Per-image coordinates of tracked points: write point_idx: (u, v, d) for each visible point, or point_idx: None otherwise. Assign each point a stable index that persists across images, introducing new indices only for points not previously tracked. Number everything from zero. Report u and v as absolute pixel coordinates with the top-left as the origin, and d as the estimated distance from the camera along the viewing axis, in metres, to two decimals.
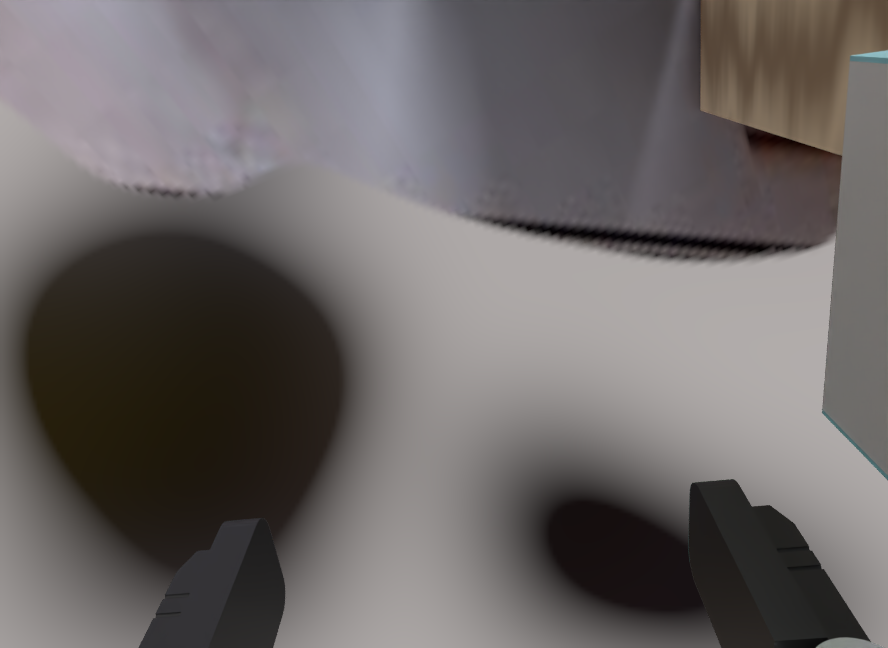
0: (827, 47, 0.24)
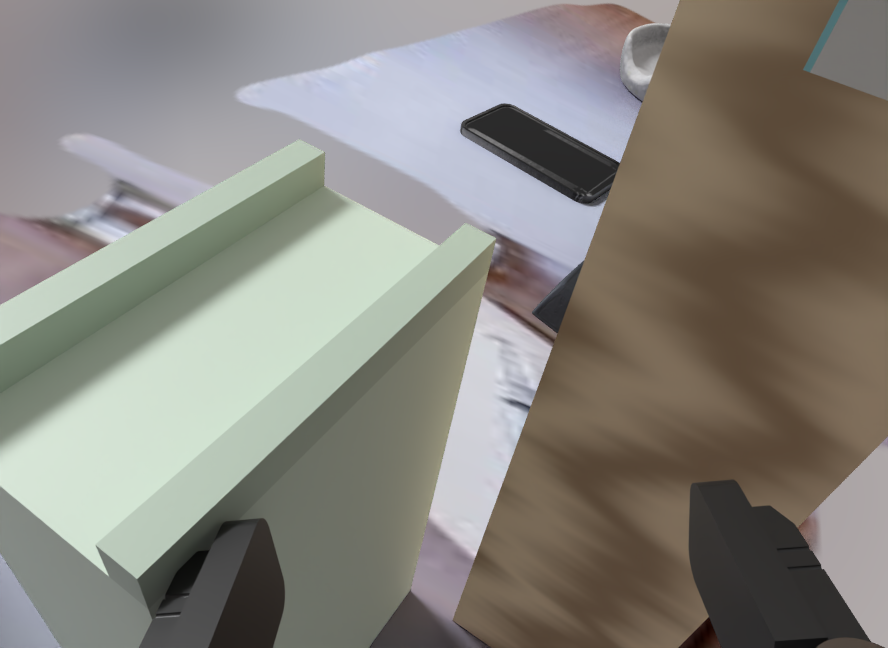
0: (625, 540, 0.23)
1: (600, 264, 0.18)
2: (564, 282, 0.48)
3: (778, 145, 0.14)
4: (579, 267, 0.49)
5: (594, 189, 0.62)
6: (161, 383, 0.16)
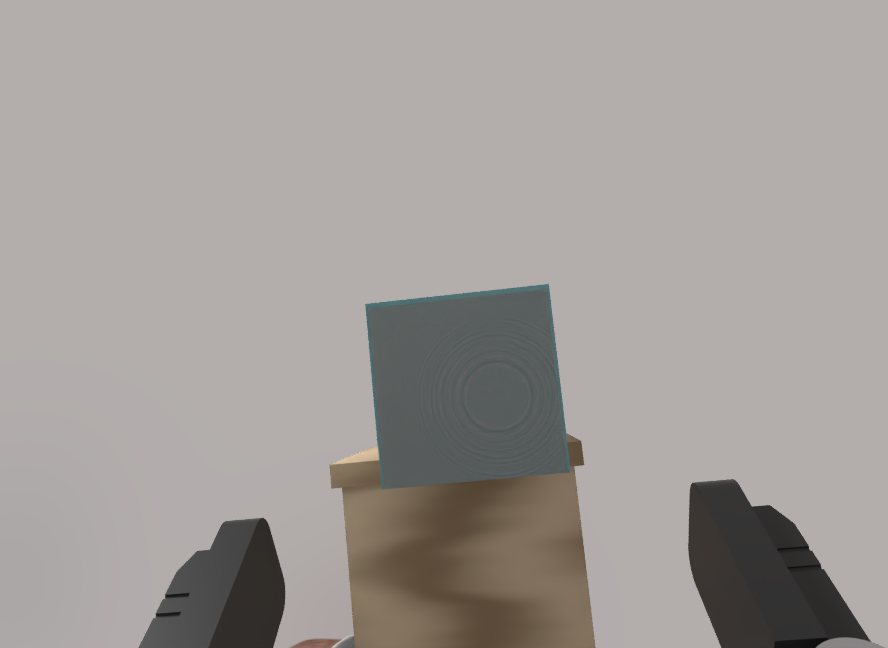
0: None
1: None
2: None
3: (433, 590, 0.24)
4: None
5: None
6: None
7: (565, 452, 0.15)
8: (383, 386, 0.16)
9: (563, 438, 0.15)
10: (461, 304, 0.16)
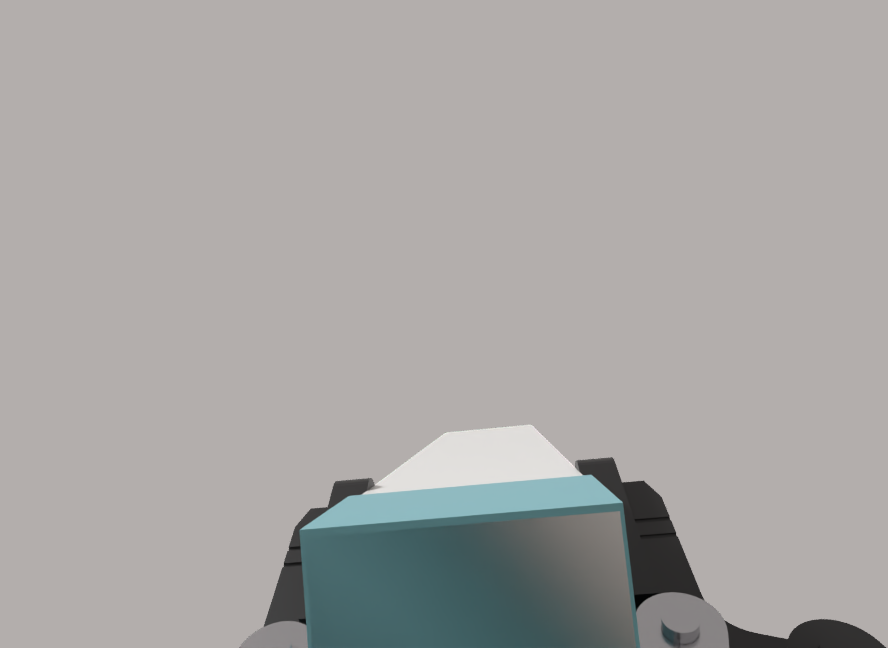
0: None
1: None
2: None
3: None
4: None
5: None
6: None
7: None
8: None
9: None
10: (467, 535, 0.09)
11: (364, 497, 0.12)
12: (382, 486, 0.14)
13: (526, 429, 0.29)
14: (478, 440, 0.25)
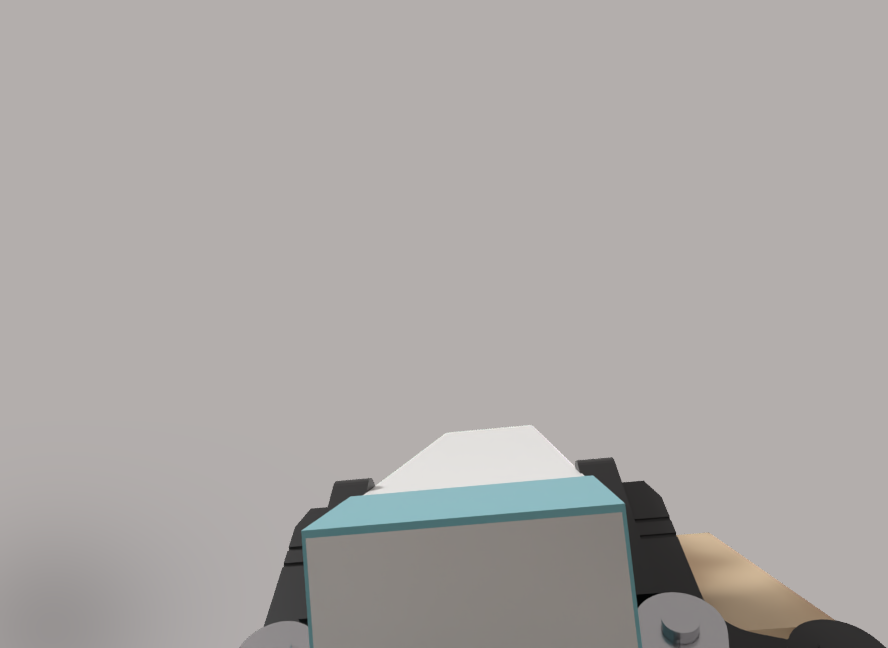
0: None
1: None
2: None
3: None
4: None
5: None
6: None
7: None
8: None
9: None
10: (469, 536, 0.09)
11: (365, 498, 0.12)
12: (383, 487, 0.14)
13: (527, 429, 0.29)
14: (479, 440, 0.25)
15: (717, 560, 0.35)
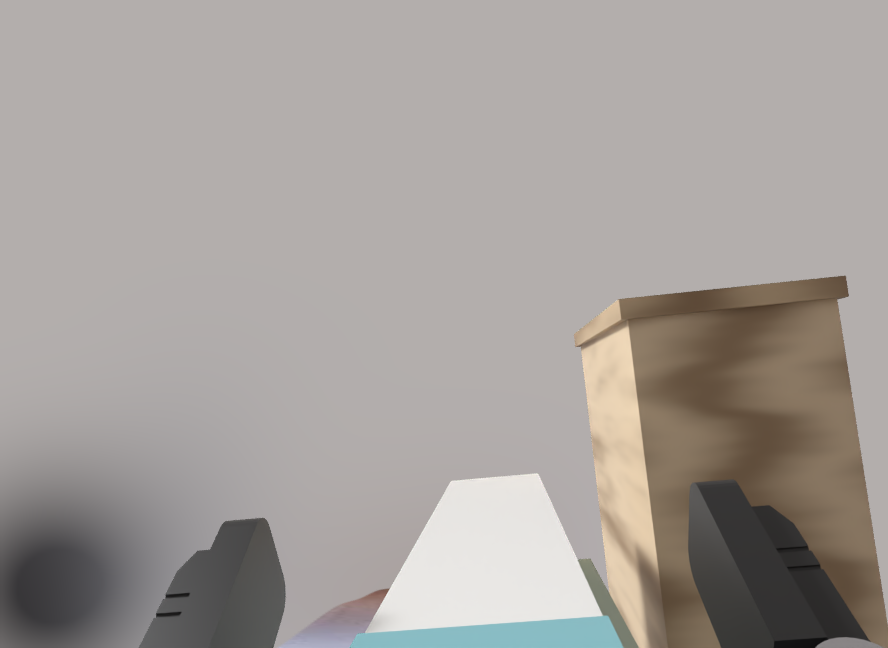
0: None
1: (665, 532, 0.27)
2: None
3: (714, 407, 0.27)
4: None
5: None
6: None
7: None
8: None
9: None
10: None
11: (373, 640, 0.11)
12: (391, 606, 0.13)
13: (533, 484, 0.28)
14: (485, 505, 0.24)
15: None
